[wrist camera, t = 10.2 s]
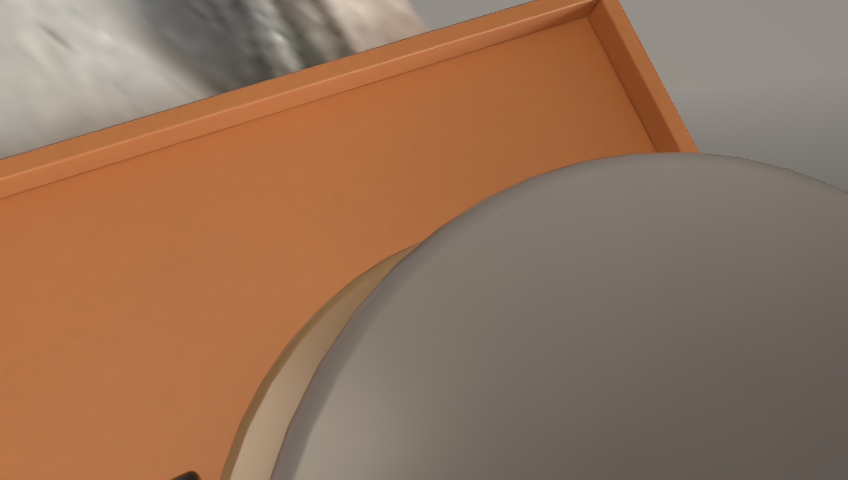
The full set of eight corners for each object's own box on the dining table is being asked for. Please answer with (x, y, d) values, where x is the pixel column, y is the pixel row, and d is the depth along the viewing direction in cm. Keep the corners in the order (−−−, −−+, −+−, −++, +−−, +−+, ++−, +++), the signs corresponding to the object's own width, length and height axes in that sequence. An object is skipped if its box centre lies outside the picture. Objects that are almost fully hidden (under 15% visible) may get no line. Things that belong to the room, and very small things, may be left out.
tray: (925, 649, 23) (970, 662, 22) (-29, 1298, 16) (-61, 1387, 14) (589, 4, 27) (607, -23, 26) (-286, 272, 20) (-332, 257, 18)
